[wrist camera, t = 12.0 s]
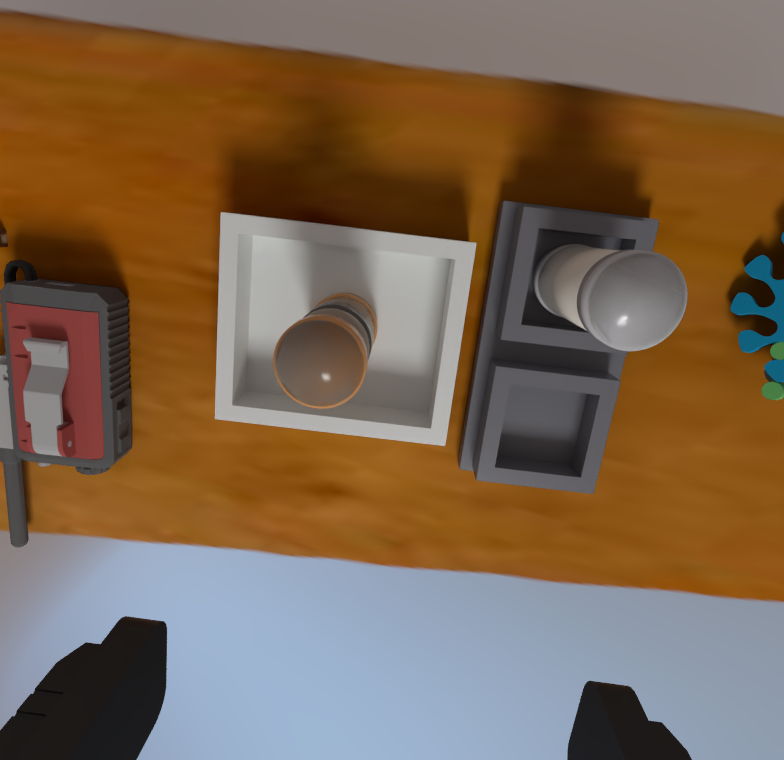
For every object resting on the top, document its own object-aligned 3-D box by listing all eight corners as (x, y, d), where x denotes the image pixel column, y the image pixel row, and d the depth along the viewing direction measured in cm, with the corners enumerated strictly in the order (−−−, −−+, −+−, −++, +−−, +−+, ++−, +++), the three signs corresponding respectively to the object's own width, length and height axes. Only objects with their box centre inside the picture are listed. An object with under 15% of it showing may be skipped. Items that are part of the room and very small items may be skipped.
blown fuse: (380, 296, 33) (370, 323, 24) (374, 362, 34) (361, 413, 25) (313, 289, 33) (275, 312, 24) (308, 355, 34) (270, 403, 25)
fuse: (609, 248, 32) (699, 257, 22) (594, 318, 33) (672, 356, 23) (538, 239, 32) (597, 244, 22) (525, 310, 33) (575, 345, 23)
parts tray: (468, 241, 33) (476, 243, 29) (441, 425, 36) (445, 446, 33) (240, 213, 33) (220, 212, 29) (232, 400, 36) (214, 419, 33)
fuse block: (500, 201, 32) (510, 198, 29) (649, 219, 32) (674, 218, 29) (457, 461, 37) (462, 483, 34) (588, 476, 37) (604, 499, 34)
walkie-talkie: (-9, 253, 34) (17, 533, 39) (-68, 258, 29) (-29, 571, 35) (132, 270, 34) (138, 547, 39) (94, 277, 30) (106, 586, 35)
